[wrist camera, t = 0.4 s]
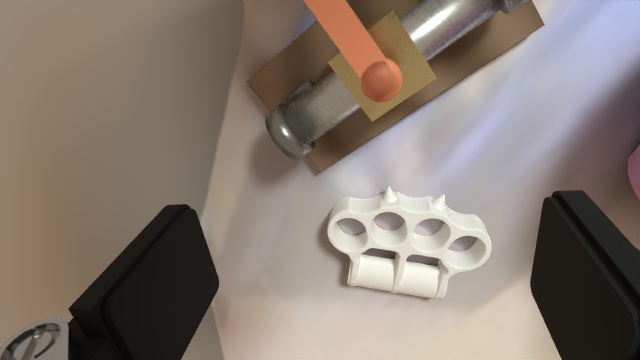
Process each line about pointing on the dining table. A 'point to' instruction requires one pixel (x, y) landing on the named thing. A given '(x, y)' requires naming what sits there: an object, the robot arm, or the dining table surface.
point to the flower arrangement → (634, 170)
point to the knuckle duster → (407, 244)
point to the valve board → (449, 68)
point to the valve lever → (358, 49)
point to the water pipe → (395, 43)
